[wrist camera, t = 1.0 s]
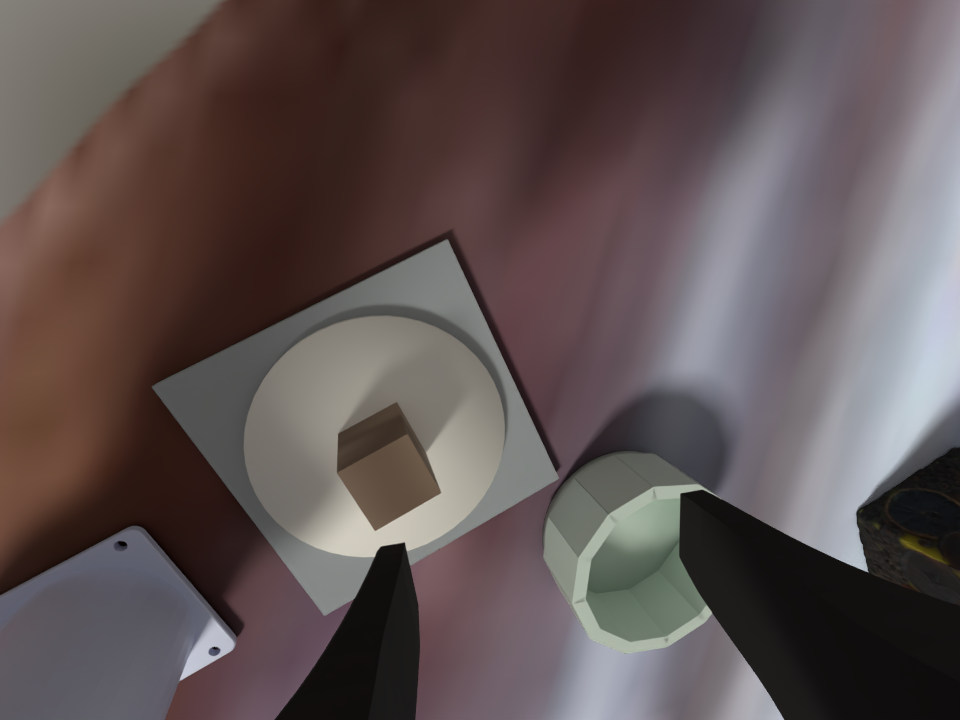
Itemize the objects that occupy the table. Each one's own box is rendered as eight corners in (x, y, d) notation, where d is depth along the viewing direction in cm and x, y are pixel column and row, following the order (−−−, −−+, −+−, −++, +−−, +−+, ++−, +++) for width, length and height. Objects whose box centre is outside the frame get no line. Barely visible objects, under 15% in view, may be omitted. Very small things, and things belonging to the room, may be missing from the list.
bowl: (574, 620, 30) (612, 682, 26) (514, 502, 27) (545, 552, 23) (701, 540, 31) (757, 587, 27) (657, 419, 28) (712, 450, 24)
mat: (324, 609, 25) (324, 615, 25) (155, 383, 21) (151, 386, 20) (555, 474, 27) (559, 478, 27) (445, 239, 23) (447, 239, 22)
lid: (332, 592, 25) (330, 666, 20) (188, 395, 21) (147, 436, 16) (536, 472, 26) (574, 518, 22) (437, 269, 22) (459, 275, 18)
